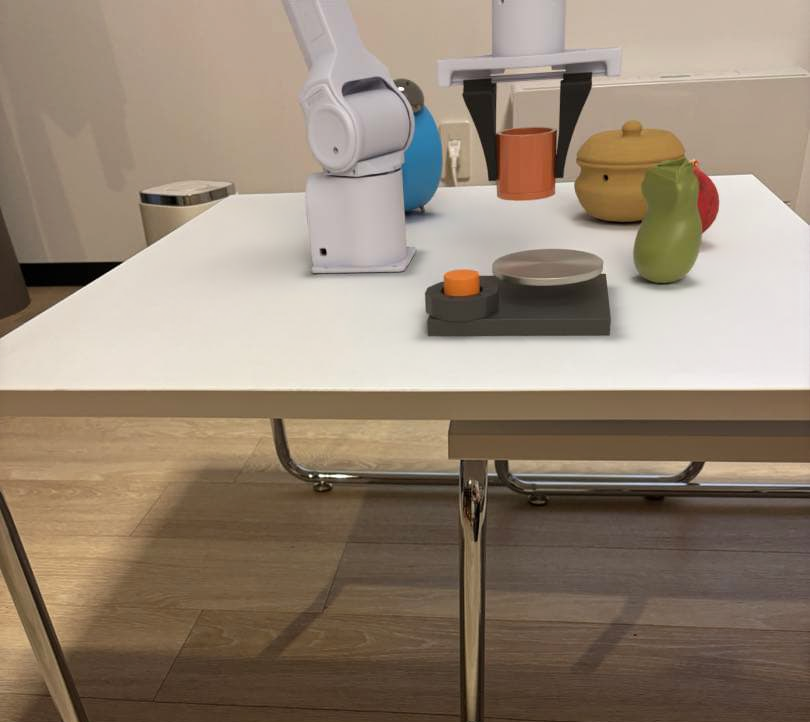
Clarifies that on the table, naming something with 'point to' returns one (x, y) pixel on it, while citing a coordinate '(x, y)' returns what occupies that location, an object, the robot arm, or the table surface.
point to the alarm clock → (420, 151)
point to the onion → (706, 197)
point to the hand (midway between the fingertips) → (526, 177)
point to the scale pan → (547, 267)
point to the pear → (669, 223)
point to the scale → (521, 309)
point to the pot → (621, 169)
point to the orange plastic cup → (526, 163)
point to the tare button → (461, 282)
